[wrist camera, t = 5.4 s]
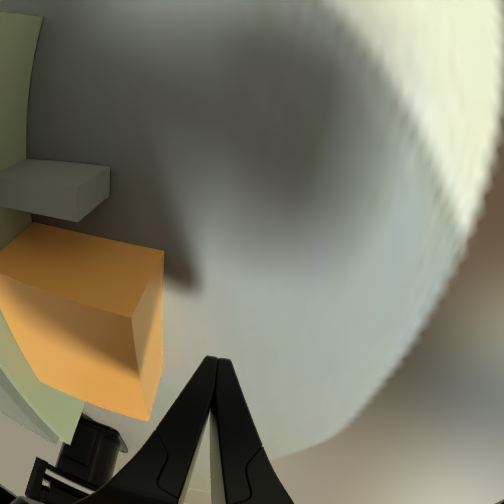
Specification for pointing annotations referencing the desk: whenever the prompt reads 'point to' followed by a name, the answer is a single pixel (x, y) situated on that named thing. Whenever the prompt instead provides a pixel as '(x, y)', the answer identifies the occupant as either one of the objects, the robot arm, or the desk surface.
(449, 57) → the desk surface
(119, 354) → the amber cuboid
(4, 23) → the sage green lidded box
